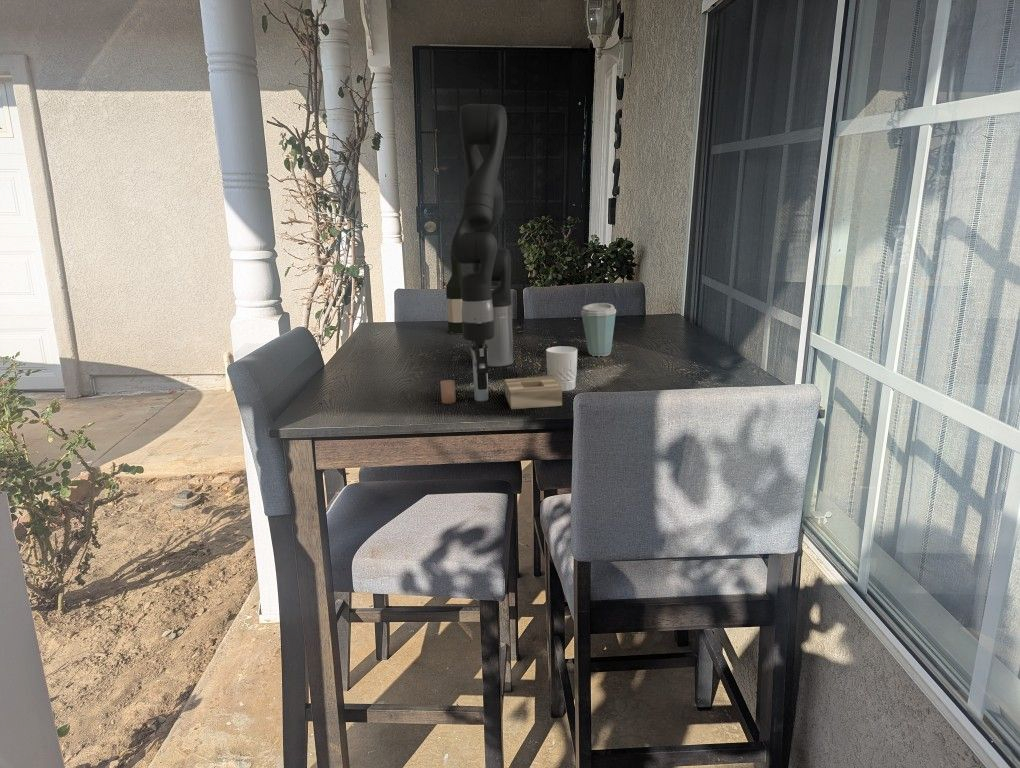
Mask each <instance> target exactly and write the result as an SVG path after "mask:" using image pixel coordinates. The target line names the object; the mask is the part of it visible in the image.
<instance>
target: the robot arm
mask: <svg viewBox="0 0 1020 768" xmlns="http://www.w3.org/2000/svg"><path fill="white" fill-rule="evenodd" d="M459 129H460V130H459V131H460V138H461V145H462V150H463V156H464V157H463V158H464V163H465V164H464V166H465V172H466V173H465V175H466V187H465V189H464V196H463V204H462V205H463V206H462V213H461V217H460V219H459V223H458V225H457V229H456V230H455V233H454V235H453V238H452V241H451V247H450V253H451V252H452V256H453V258H454V259H455V261H456V262H458V263H461V265H462V264H465V265H466V264H472V265H471V266H472V273H466V274H464V275H463V277H462V279H461V289H462V329H463V334H462V339H464V340H466V341H469V342H471V345H470V348H469V349H470V353H471V355H470V356H471V360H472V363H473V362H474V366H476V373H477V383H478V389H479V390H485V389H487V375H488V373H489V368H488V367H503V366H506V367H507V366H509V365H512V364H514V341H513V340H514V338H513V337H514V336H513V311H512V310H513V309H512V288H511V286H512V285H511V280H512V277H511V276H512V258H511V253H510V250H509V248H506V247H499V246H498V241H497V239H496V237H495V235H494V234H493V233H492V232H493V230H494V229H495V227H496V226H497V225H498V224H499V222H500V220H501V218H502V216H503V213H504V193H503V192H504V190H503V187H502V184H501V182H500V181H499V179H498V176H499V172H500V168H501V164H502V158H503V153H504V148H505V143H506V138H507V132H508V117H507V111H506V108H505V106H503V105H502V104H495V103H491V104H489V103H467V104H463V106H462V107H461V109H460V113H459ZM479 146H489V150H488V153H487V154H486V156H485V158H484V159H483V156H482V154H481V152H480V149H479ZM492 282H499V285H497V286H496V287H495V288H494V289H493V290H492ZM479 366H484V368H479Z"/></svg>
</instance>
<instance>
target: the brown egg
mask: <svg viewBox="0 0 1020 768" xmlns="http://www.w3.org/2000/svg"><path fill="white" fill-rule="evenodd" d="M440 394H441V395H440V396H441V403H442V404H447V405H449V404H454V403H456V402H457V401H456V383H455V380H454V379H444V380H441V381H440Z"/></svg>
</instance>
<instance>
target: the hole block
mask: <svg viewBox="0 0 1020 768" xmlns="http://www.w3.org/2000/svg"><path fill="white" fill-rule="evenodd" d="M504 396H505V398H506V400H507V403H508V405H509V409H510V410H519V409H531V408H533V409H534V408H535V409H537V408H548V407H550V408H551V407H561V406H563V391H562V388H561V387H560V386H559V384H558V383H557V382H556V380H555V379H554V378H553V376H551V377H548V376H539V377H536V376H535V377H525V378H524V377H523V378H510V379H509V378H507V379H504Z"/></svg>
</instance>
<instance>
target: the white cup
mask: <svg viewBox="0 0 1020 768" xmlns="http://www.w3.org/2000/svg"><path fill="white" fill-rule="evenodd" d="M545 355H546V357H545V358H546V359H545V360H546V371H547V377H551V376H553V378H554V379H555V380H556V382H557V383H558V384H559V386H560V387H561V388H562V392H568V391H569V392H570V391H573V390H575V389H576V386H577V384H576V383H577V382H576V380H577V379H576V378H577V370H578V348H576V347H574V346H561V345H559V346H552V347H547V348H546V349H545Z"/></svg>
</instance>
